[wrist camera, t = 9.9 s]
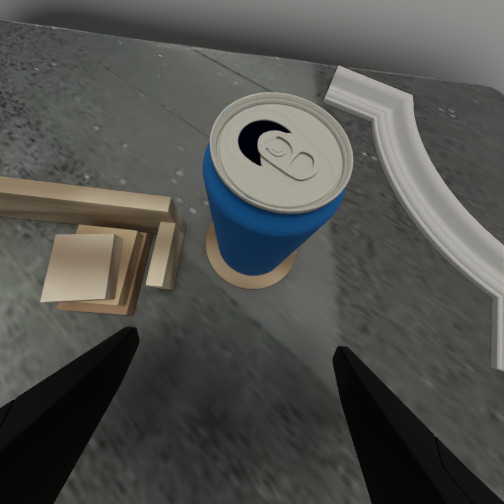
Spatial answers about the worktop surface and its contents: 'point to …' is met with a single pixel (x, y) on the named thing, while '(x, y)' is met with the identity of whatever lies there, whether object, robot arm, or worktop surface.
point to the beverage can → (273, 177)
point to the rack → (102, 216)
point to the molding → (425, 189)
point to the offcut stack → (97, 270)
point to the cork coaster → (237, 277)
